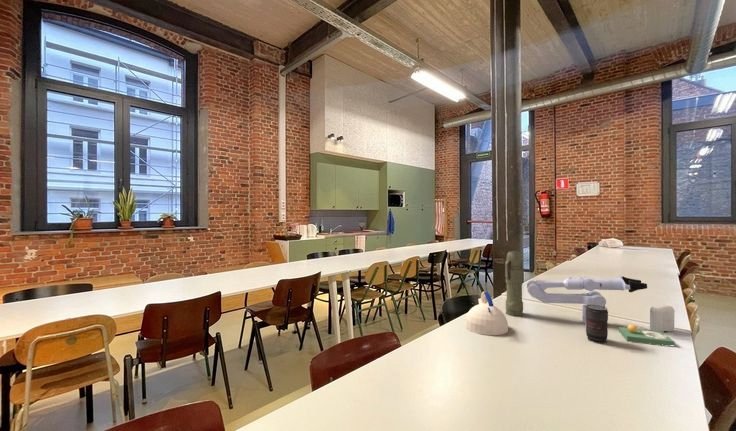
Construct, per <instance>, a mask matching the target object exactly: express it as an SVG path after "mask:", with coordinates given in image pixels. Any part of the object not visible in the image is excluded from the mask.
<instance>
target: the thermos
mask: <svg viewBox="0 0 736 431" xmlns="http://www.w3.org/2000/svg"><path fill="white" fill-rule="evenodd" d="M523 271H524V270H523V260H522V255H521V252H520V251H518V250H509V251H507V254H506V260H505V263H504V277H505V283H506V284H505V285H506V299H505V314H506V315H508V316H510V317H523V316H524V313H523V312H524V302H523V283H524V279H523V278H524V277H523V276H524V275H523V274H524V273H523Z"/></svg>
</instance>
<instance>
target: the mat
mask: <svg viewBox="0 0 736 431" xmlns="http://www.w3.org/2000/svg"><path fill="white" fill-rule="evenodd" d="M618 332H619V333H621V334H620V335H621V336H622V337H623V339H625V341H626V342H630V341H632V342H631V343H638V342H642V343H641V344H647V343H651V344H650V345H655V344H663V345H674V346H675V345H676V344H675V340H673V339H672V338H671V337H669V336H668V335H667V334H665V332H660V331H652V330H651V329H649V330H647V329H642V328H641V329H639V328H638V330H637V332H635V333H632V332H630V331H629V330H628V329H627V327H623V326H622V327H620V326H619V327H618ZM663 345H662V346H663Z"/></svg>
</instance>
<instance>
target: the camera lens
mask: <svg viewBox="0 0 736 431" xmlns="http://www.w3.org/2000/svg"><path fill="white" fill-rule="evenodd" d="M608 321H609V310H608V308H607V307H606V306H605V307H604V306H600V305H593V304H589V305H587V307H586V324H585V334H586V336H587V340H588V341H589V342H591V343H596V344H605V343H606V342H607V340H608V336H609V335H608V334H609V332H608V330H609V329H608V327H609V326H608V327H607V325H608Z"/></svg>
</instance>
